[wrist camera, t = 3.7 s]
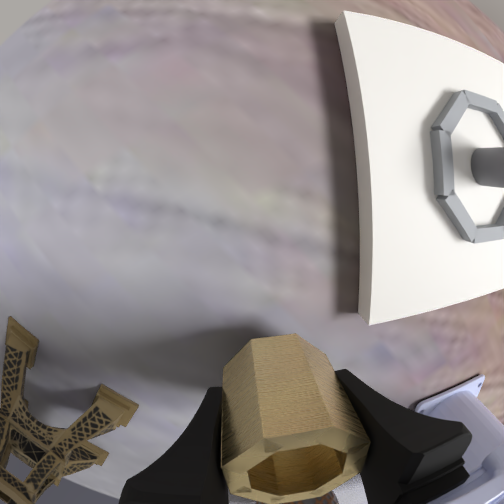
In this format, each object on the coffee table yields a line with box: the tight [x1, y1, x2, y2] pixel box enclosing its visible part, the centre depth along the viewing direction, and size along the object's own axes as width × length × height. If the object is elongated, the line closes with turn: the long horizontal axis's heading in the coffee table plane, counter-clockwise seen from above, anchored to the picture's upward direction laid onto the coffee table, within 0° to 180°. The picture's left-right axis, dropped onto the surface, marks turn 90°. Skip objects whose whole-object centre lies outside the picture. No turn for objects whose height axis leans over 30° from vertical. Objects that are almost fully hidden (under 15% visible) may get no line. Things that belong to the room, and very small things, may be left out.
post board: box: [334, 11, 504, 325], centre depth 11 cm, size 16×16×6 cm
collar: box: [221, 333, 371, 504], centre depth 11 cm, size 5×5×6 cm
